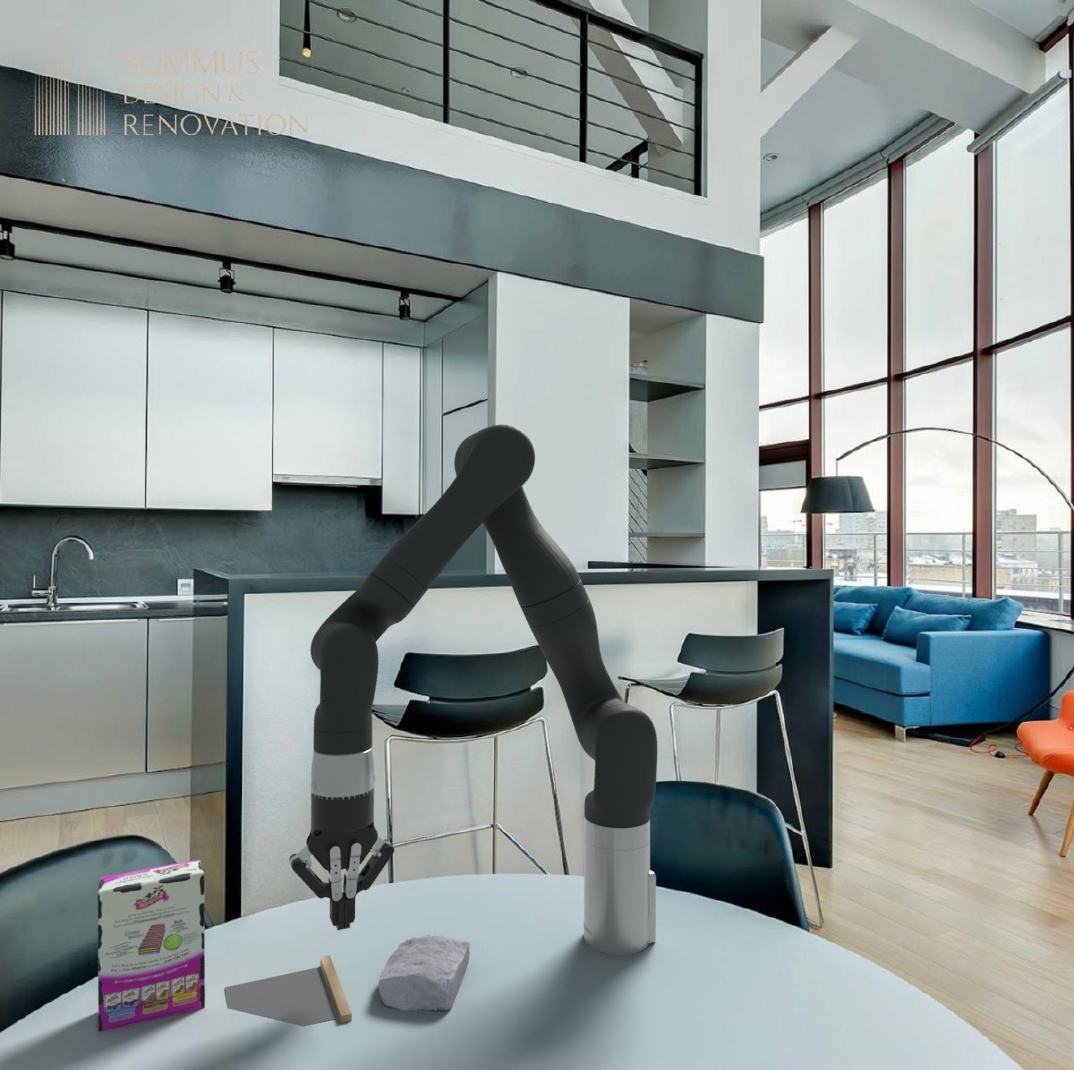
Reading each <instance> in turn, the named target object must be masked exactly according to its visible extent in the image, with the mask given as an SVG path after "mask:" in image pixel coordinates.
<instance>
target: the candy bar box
mask: <svg viewBox="0 0 1074 1070" xmlns="http://www.w3.org/2000/svg"><path fill="white" fill-rule="evenodd" d="M205 921H206V920H205V873H204V868H203V866H202V860H201V859H195V860H189V861H183V862H177V863H171V864H165V865H160V866H156V867H149V868H144V869H137V870H134V871H133V870H132V871H128V872H121V873H117V874H110V875H106V876H105V875H103V876H100V877H99V883H98V889H97V964H98V965H97V969H98V970H97V973H98V974H97V979H98V980H97V985H98V986H97V993H98V994H97V1002H98V1006H97V1007H98V1008H97V1012H98V1015H97V1031H98V1032H104V1031H108V1030H113V1029H114V1030H115V1029H118V1028H122V1027H121V1026H123V1027H127V1026H131V1025H130V1024H132V1025H136V1024H140V1023H144V1022H150V1021H153V1020H157V1019H162V1018H167V1017H171V1016H176V1015H179V1014H185V1013H188V1012H195V1011H198V1010H202V1009H205V1008H206V1007H205V1006H206V968H205V967H206V966H205V965H206V963H205V961H206V960H205V959H206V956H205V955H206V953H205V952H206V951H205V948H206V947H205V945H206V944H205V936H206V935H205ZM126 1025H127V1026H126Z"/></svg>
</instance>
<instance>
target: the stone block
mask: <svg viewBox="0 0 1074 1070" xmlns="http://www.w3.org/2000/svg"><path fill="white" fill-rule="evenodd" d="M470 954H471V953H470V940H469V939H466V940H462V939H459V938H455V937H448V936H446V935H437V934H433V935H432V934H426V935H422V936H417V937H415V936H414V937H412V938H409V939H406V940H404V941H402V942H400V943H399V944H398V946H397V949H396V950H394V951H393V952H392V954H391V955H390V956H389V958H388V959H387V961H386V963H385V966H384V967H383V968H382V969H381V974H380V979H379V981H378V992H379V995H380V999H381V1001H382V1002H383V1004H384V1005H385V1006H387V1007H390V1008H393V1009H397V1010H400V1011H403V1010H404V1011H405V1012H406V1011H418V1010H417V1009H424V1010H423V1011H427V1010H433V1011H440V1010H443V1011H442V1012H448V1011H449V1010H451V1009H452V1006H453V1005H454V1003H455V999H456V996H457V994H458V991H459V989H460V986H461V983H462V981H463V978H464V975H465V974H466V973H465V972H466V971H467V968H468V964H469V961H470ZM450 1008H451V1009H450ZM435 1009H437V1010H435ZM444 1010H446V1011H444ZM447 1010H448V1011H447Z"/></svg>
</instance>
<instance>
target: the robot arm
mask: <svg viewBox="0 0 1074 1070" xmlns="http://www.w3.org/2000/svg"><path fill="white" fill-rule="evenodd" d="M530 439H531V438H530V437H529V436H528V435H527V434H526V433H525V432H524V431H523V430H521V429H520V428H518V427H516V426H513V425H510V424H494V425H490V426H488V427H485V428H481V430H478V431H476V432H475V433H473V434H471V435H469V436H467V437H466V438H464V440H463V441H461V442H460V444H459V445H458V447H457V449H456V452H455V454H454V461H453V462H454V463H453V465H454V471H455V474H456V475H455V478H454V480H453V481H452V482H451V483H450V485H449V486H448V488H447V489H446V490H445V492H444V493H443V494H442V495H441V496H440V497H439V498H438V500H437V501H436V502H434V503H435V504H433V506H431V508H430V509H428V511H426V512H425V514H424V515H422V517H420V518H419V519H418V520H417V521H416V523H414V524H413V525H412V526H411V527H410V528H409V529H408V530H406V531H405V533H404V534H403V535H402V536H401V537H399V539H398V540H397V541H396V542H395V543H393V545H392V546H391V547H390V548H389V550H388V551H387V552H386V553H385V554H384V556H383V557H382V558H381V559H380V560H379V562H378V563H377V564H376V565H375V566H374V567H373V569H372V570H371V571H370V573H369V574H368V575H367V577H366V578H365V579H364V581H363V582H361V583H362V584H361V585H360V586H359V587H358V588H357V589H356V590H355V591H354V592H353V593H352V594H351V595H350V596H349V597H347V598H346V600H344V601H343V602H342V603H341V604H340V605H339V606H338V607H337V608H336V609H335V610H334V611H333V612H332V613H330V615H329V616H328V617H327V618H326V619H325V620H324V622H322V624H321V625H320V626H319V628H318V629H317V631H316V632H315V633H314V635H313V637H312V639H311V643H310V657H311V661H312V662H313V664H314V666H315V667H316V668H317V670H319V671H320V673H319V674H320V675H319V676H320V681H319V682H320V684H319V685H320V687H319V689H320V690H319V704H318V705H317V706H316V709H315V710H314V715H313V716H314V718H313V754H312V762H311V769H310V770H311V772H310V774H311V777H310V778H311V779H310V789H311V790H310V832H309V834H308V836H307V838H306V841H305V843H306V846H304V847H303V848H302V849H301V850H300V851H299V852H297V853H293V854H291V855H290V856H289V858H288V861H289V864H290V867H291V870H292V871H293V872H294V873H295V874H296V875H297V876H298V877H299V878H300V879H301V880H302V881H303V883H304V884H305V885H306V886H307V887H308V888H309V889H310V890H311V891H312V893H314V895H315V896H317V898H319V899H324V898H327V899H329V919H330V922H331V924H332V926H333V927H336V930H337V931H342V930H347V929H350V928H351V924H352V923H354V922H355V920H356V896H357V895H358V894H359V893H361V892H362V891H368V890H369V889H370V888H371V887H372V885H373V884H374V882H375V881H376V879H377V878H378V876H379V875H380V874H381V872H382V871H383V870H384V868H385V866H387V864H388V862H389V860H390V859H391V857H392V856H393V855H394V853H395V848H394V846H393V845H392V844H391V842H390V841H389V840H388V839H386V838H385V839H383V838H382V837H379V834H378V830H377V829H376V826H375V816H374V815H375V782H376V774H375V760H374V753H373V711H372V709H373V705H374V700H375V694H376V690H377V682H378V674H379V650H378V644H377V641H379V639H380V638H381V637H382V636H383V634H384V633H385V632H386V631H387V630H388V629H389V628H391V626H393V625H395V624H398V623H400V622H402V621H403V620H405V618H406V617H408V615H409V614H411V612H412V611H413V609H414V608H415V607H416V605H418V603H419V602H420V601H421V599H422V598H423V596H425V594H426V593H427V591H428V590H429V589H430V587H431V586H433V584H434V582H435V581H436V580H437V579H438V577H439V576H440V574H441V573H442V572H443V571H444V570H445V568H446V567H447V565H448V564H449V563H450V562H451V560H452V559H453V558H454V557H455V556H456V554H457V553H458V552H459V550H460V549H461V548H462V547H463V545H465V543H466V542H467V541H468V540H469V538H470V537H471V536H472V535H473V534H474V533H475V531H477V529H478V528H479V527H480V526H481V525H482V524H483V525H484V527H485V529H486V531H487V533H488V535H489V536H490V539H491V541H492V543H493V546H494V548H495V551H496V554H497V555H498V558H499V560H500V562H501V566H502V568H503V570H504V572H505V575H506V576H507V579H508V581H509V584H510V586H511V587H512V590H513V594H514V595H515V598H516V599H517V602H518V605H519V606H520V610H521V611H522V614H523V616H524V618H525V620H526V623H527V624H528V627H529V628H530V630H531V633H532V634H533V637H534V638H535V640H536V642H537V644H538V647H539V648H540V650H541V653H542V655H543V656H544V658H545V659H544V660H546V662H547V664H548V666H549V668H550V669H551V671H552V673H553V675H554V676H555V679H556V681H557V683H558V685H559V687H560V689H561V692H562V695H563V698H564V701H565V703H566V707H567V709H568V713H569V715H570V718H571V722H572V724H573V728H574V731H575V734H576V737H577V740H578V742H579V743H580V744H579V745H580V746H581V748H582V750H583V751H584V752H585V753H586V755H587V756H588V757H590V758H591V759H592V760H593V761H594V785H593V790H591V791H590V792H588V793H587V794H586V796H585V799H584V803H583V804H584V805H583V806H584V815H583V817H584V819H583V821H584V827H583V828H584V829H583V831H584V832H583V837H584V838H583V839H584V840H583V843H584V844H583V846H584V849H583V850H584V852H583V855H584V857H583V858H584V859H583V861H584V863H583V869H584V870H583V871H584V872H583V874H584V875H583V878H584V879H583V881H584V882H583V939H584V942H585V944H586V945H587V946H588V947H590V948H591V949H593V950H594V951H597V952H600V953H603V954H607V955H614V956H628V955H629V956H630V955H634V954H638V953H640V952H643V951H644V950H645V949H647V947H648V946H649V945H650V944H651V943H655V942H656V939H657V936H656V935H657V930H656V928H657V926H656V925H657V923H656V922H657V904H656V902H657V896H656V895H657V889H656V888H657V876H656V873H655V872H654V871H653V870H652V869H651V807H652V805H653V803H654V801H655V796H656V792H657V791H656V790H657V771H658V767H657V766H658V736H657V732H656V727H655V725H654V722H653V721H652V719H651V717H650V716H649V715H647V714H646V712H644V711H643V710H641V709H639V708H637V707H635V706H633V705H631V704H629V703H626V702H625V701H624V699H623V698H622V696H621V694H620V693H619V692H618V690H617V687H616V686H615V684H614V682H613V680H612V678H611V677H610V675H609V672H608V671H607V668H606V666H605V663H604V660H603V657H602V653H601V647H600V641H599V640H600V639H599V632H598V624H597V619H596V614H595V611H594V608H593V605H592V602H591V599H590V598H589V594H588V593H587V591H586V588H585V586H584V584H583V582H582V579H581V577H580V575H579V573H578V570H577V569H576V567H575V566H574V564H573V563H572V561H571V559H570V558H569V557H568V555H567V554H566V553H565V552H564V550H562V548H561V547H560V546H559V544H558V543H557V542H556V541H555V540H554V539H553V537H551V535H550V534H549V533H548V532H547V530H546V529H545V528H544V527H543V525H542V524H541V522H540V521H539V519H538V517H537V516H536V515H535V512H534V511H533V509H532V506H531V504H530V502H529V499H528V497H527V495H526V492H525V489H524V487H523V486H524V485H525V484H526V483H527V481H529V479H530V478H531V475H532V474H533V471H534V468H535V464H536V463H535V462H536V452H535V448H534V445H533V442H532V441H531V440H530ZM370 852H371V856H370V858H369V859H368V860H367V862H366V863H365V865H364V866H363V867H362V869H361V870H360V866H361V864H363V862H364V861H365V860H366V858H367V856H368V855H369V853H370ZM311 856H312V857H314V858H315V860H316V861H317V862H318V863H319V865H320V866H321V867H322V868H323V869H324V870H326V874H327V882H324V881H323V880H322V879H321V878H320V877H319V876H318V875H317V874H316V873H315V871H314V870H313V869H312V868H311V867H312V866H313V861H312V859H311ZM342 873H343V875H342Z"/></svg>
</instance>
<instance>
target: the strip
mask: <svg viewBox="0 0 1074 1070" xmlns="http://www.w3.org/2000/svg"><path fill="white" fill-rule="evenodd" d="M319 963H320V964H319V966H320V970H321V972H322V974H323V977H324V980H325V983H326V985H327V988H328V990H329V994H330V996H331V998H332V1002H333V1004H334V1007H335V1010H336V1013H337V1015H338V1019H339V1021H340V1023H341V1024H343V1023H347V1022H353V1021H352V1020H353V1015H352V1011H351V1008H350V1006H349V1005H350V1004H349V1003H348V1000H347V997H346V994H345V992H344V990H343V989H344V988H343V987H342V985H341V980H340V979H339V976H338V974H337V971H336V968H335V966H334V963H333V960H332V958H331V956H330V955H325V956H320V959H319Z"/></svg>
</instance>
